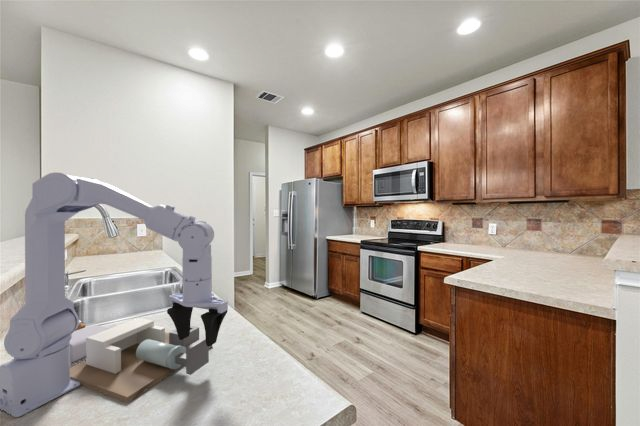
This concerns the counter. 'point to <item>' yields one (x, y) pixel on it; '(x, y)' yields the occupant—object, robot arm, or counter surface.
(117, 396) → the mounting board
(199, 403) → the counter surface
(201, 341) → the grey and blue plunger
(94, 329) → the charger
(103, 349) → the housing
